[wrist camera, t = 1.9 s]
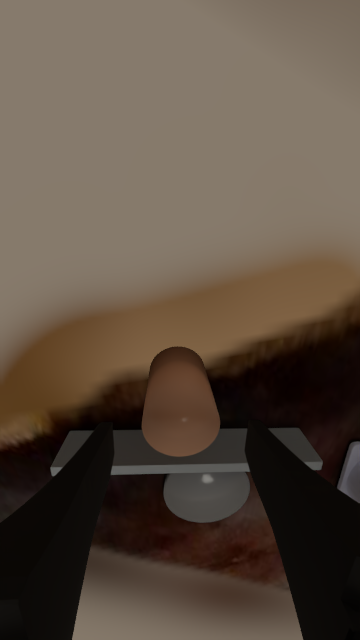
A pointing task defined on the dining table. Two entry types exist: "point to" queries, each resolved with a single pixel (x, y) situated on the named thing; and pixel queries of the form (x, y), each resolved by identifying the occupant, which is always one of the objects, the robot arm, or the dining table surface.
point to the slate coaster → (205, 494)
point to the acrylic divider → (217, 457)
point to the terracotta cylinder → (179, 404)
